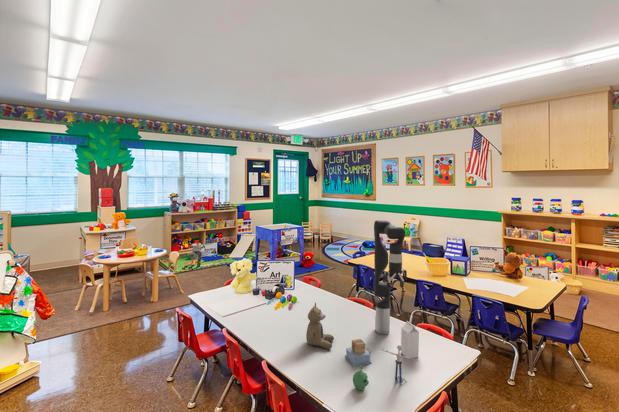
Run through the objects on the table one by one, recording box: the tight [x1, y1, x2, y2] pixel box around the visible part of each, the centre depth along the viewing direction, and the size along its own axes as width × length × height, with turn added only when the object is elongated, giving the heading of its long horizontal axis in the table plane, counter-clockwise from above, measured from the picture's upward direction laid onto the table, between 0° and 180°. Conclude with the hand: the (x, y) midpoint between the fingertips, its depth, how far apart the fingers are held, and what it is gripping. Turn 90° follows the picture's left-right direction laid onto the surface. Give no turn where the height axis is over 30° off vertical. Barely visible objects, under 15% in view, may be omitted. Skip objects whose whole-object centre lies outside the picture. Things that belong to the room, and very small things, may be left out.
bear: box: [305, 301, 335, 350], centre depth 195 cm, size 21×16×25 cm
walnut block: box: [351, 338, 366, 354], centre depth 178 cm, size 6×6×6 cm
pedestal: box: [344, 346, 373, 368], centre depth 178 cm, size 11×11×5 cm
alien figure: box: [380, 344, 418, 385], centre depth 158 cm, size 20×5×19 cm, turn 55°
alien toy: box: [352, 365, 370, 391], centre depth 152 cm, size 7×8×10 cm
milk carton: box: [400, 320, 420, 359], centre depth 183 cm, size 7×7×19 cm
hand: (395, 287), depth 186 cm, fingers open, 8 cm apart
